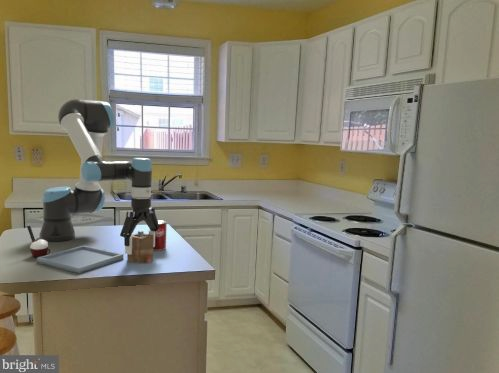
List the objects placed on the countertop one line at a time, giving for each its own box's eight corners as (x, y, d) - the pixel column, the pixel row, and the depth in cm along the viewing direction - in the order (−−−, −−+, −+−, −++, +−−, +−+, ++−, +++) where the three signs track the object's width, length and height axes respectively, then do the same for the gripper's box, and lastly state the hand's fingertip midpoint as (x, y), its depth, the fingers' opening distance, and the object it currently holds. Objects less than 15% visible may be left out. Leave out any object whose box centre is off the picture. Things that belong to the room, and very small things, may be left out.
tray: (37, 262, 158) (37, 257, 157) (84, 249, 177) (84, 245, 177) (78, 273, 148) (78, 268, 148) (123, 259, 167) (123, 254, 167)
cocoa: (52, 257, 166) (54, 228, 165) (37, 260, 161) (38, 230, 160) (38, 252, 171) (40, 223, 170) (23, 254, 166) (25, 225, 165)
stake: (136, 260, 167) (136, 231, 166) (139, 258, 169) (140, 230, 168) (140, 261, 166) (140, 232, 165) (144, 259, 168) (144, 231, 167)
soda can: (161, 251, 181) (162, 224, 179) (146, 249, 182) (146, 222, 181) (168, 247, 188) (169, 221, 186) (153, 245, 189) (153, 219, 188)
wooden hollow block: (127, 260, 166) (127, 235, 165) (139, 256, 172) (139, 232, 171) (144, 264, 162) (144, 239, 161) (155, 260, 168) (156, 235, 167)
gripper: (126, 202, 152) (125, 259, 154) (168, 195, 174) (167, 245, 176) (110, 199, 155) (110, 255, 157) (154, 193, 177) (153, 242, 180)
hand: (140, 250), depth 167 cm, fingers open, 13 cm apart
